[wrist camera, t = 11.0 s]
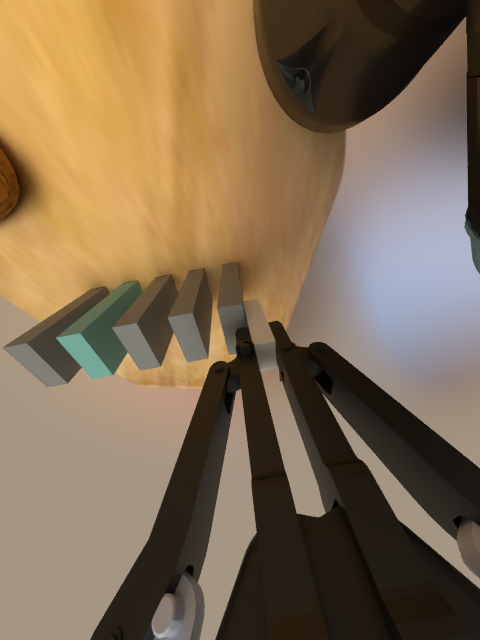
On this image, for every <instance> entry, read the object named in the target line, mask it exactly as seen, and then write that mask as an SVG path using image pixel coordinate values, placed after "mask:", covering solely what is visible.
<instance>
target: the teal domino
mask: <svg viewBox="0 0 480 640" xmlns="http://www.w3.org/2000/svg"><path fill="white" fill-rule="evenodd" d="M142 293H143V291H142V289H141V287H140V284H139V282H138V281H133V282H127V283H123V284H122V285H120V286H119V287H118V288H117V289H115V290H114V291H113V292H112V293H110V294H109V295H108V296H107V297H106V298H104V299H103V300H102V301H101V302H99V303H98V304H97V305H96V306H94V307H93V308H92V309H91V310H89V311H88V312H87V313H86V314H84V315H83V316H82V317H81V318H80V319H78V320H77V321H76V322H75V323H73V324H72V325H71V326H70V327H68V328H67V329H66V330H65V331H63V332H62V333H61V334H60V335H58V336H57V337H56V339H57V340H58V341H59V342H60V343H61V344H62V346H63V347H64V348H65V349H66V350H67V351H68V352H69V353H70V355H71V356H72V357H73V358H74V359H75V360H76V361H77V362H78V363H79V365H80V366H81V367H82V368H83V369H84V370H85V371H86V372H87V374H88V375H89V376H90V377H91V378H92V379H95V378H101V377H106V376H112V375H114V373H115V372H116V370H117V368H118V367H119V365H120V364H121V362H122V360H123V359H124V357H125V356H126V354H127V352H128V351H127V350H126V348H125V347H124V345H123V344H122V342H121V341H120V339H119V338H118V336H117V335H116V333H115V332H114V330H113V329H112V327H113V326H114V325H115V324H116V322H117V321H118V320H119V319H120V318H121V317H122V316H123V315H124V313H125V312H126V311H127V310H128V309H129V308H130V307H131V305H132V304H133V303H134V302H135V301H136V300H137V299H138V298H139V296H140V295H141V294H142Z"/></svg>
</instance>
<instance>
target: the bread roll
mask: <svg viewBox="0 0 480 640" xmlns="http://www.w3.org/2000/svg"><path fill="white" fill-rule="evenodd" d="M19 194H20V187H19V185H18V180H17V177H16V174H15V172H14V170H13V167H12V165H11V164H10V162H9V160H8V159H7V157H6V155H5V153H4V152H3V151H2V150H1V149H0V220H2V219H3V218H4V217H6V216H7V215H8V214H9V213H10V212H11V211H12V209H13V208H14V207H15V205H16V203H17V201H18V197H19Z"/></svg>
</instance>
